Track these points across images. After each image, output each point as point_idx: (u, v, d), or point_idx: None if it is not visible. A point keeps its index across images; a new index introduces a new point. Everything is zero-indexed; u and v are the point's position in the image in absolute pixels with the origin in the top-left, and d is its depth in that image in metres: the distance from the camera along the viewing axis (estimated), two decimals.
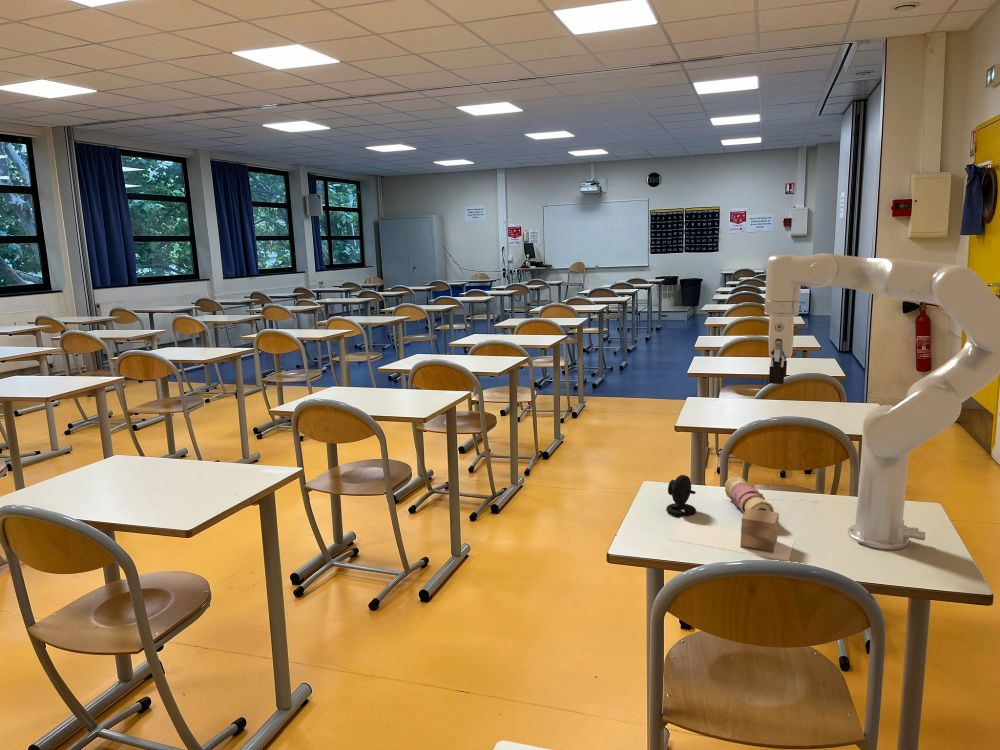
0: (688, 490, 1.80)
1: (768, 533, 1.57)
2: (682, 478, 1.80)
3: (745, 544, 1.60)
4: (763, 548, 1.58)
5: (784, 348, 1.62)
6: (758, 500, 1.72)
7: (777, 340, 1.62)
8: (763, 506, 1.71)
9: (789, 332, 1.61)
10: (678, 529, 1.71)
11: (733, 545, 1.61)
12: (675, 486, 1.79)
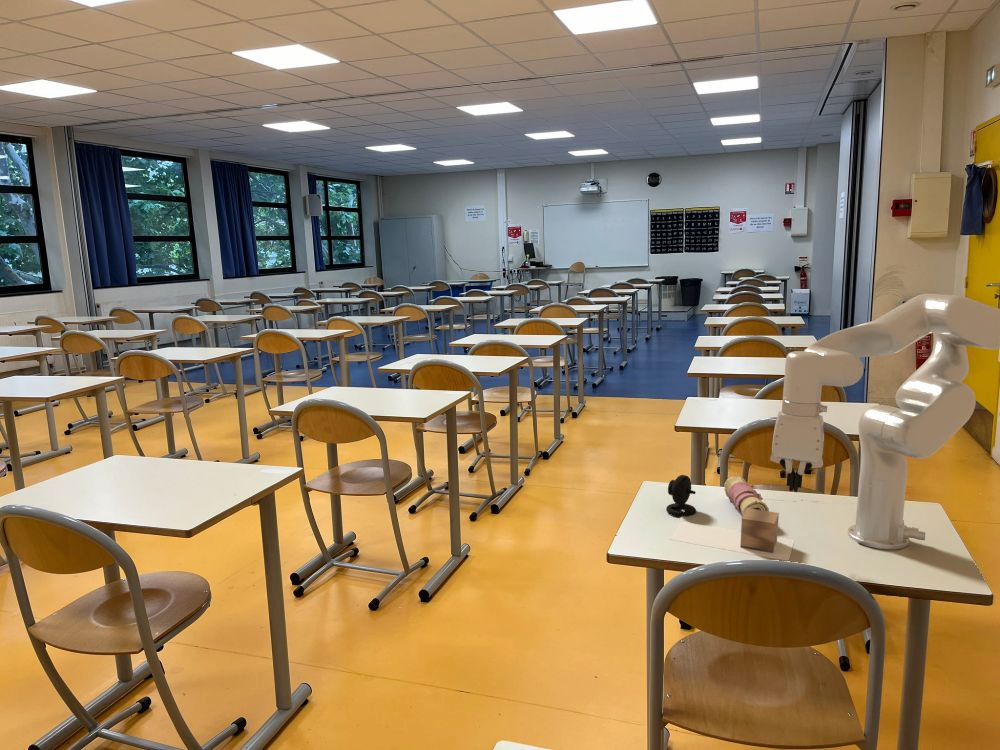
0: (688, 490, 1.80)
1: (768, 533, 1.57)
2: (682, 478, 1.80)
3: (745, 544, 1.60)
4: (763, 548, 1.58)
5: None
6: (753, 500, 1.72)
7: None
8: (758, 506, 1.71)
9: None
10: (678, 529, 1.71)
11: (733, 545, 1.61)
12: (675, 486, 1.79)
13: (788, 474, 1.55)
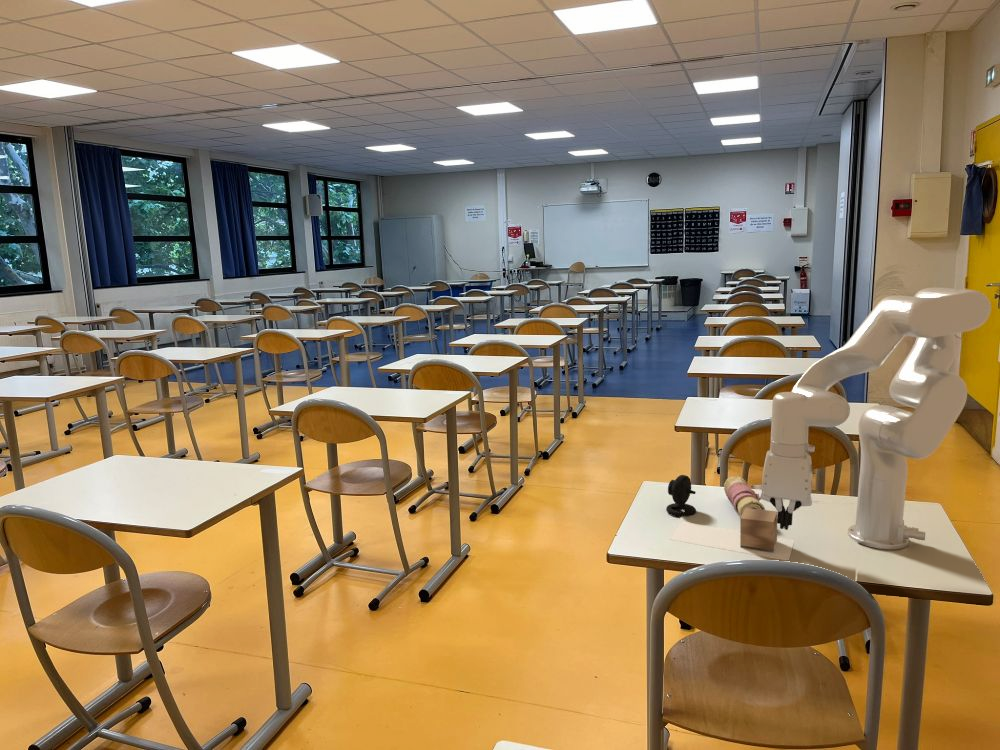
0: (688, 490, 1.80)
1: (767, 532, 1.57)
2: (682, 478, 1.80)
3: (745, 544, 1.60)
4: (763, 547, 1.58)
5: (811, 487, 1.55)
6: (749, 500, 1.72)
7: None
8: (754, 506, 1.71)
9: None
10: (678, 529, 1.71)
11: (733, 545, 1.61)
12: (675, 486, 1.79)
13: (778, 512, 1.58)
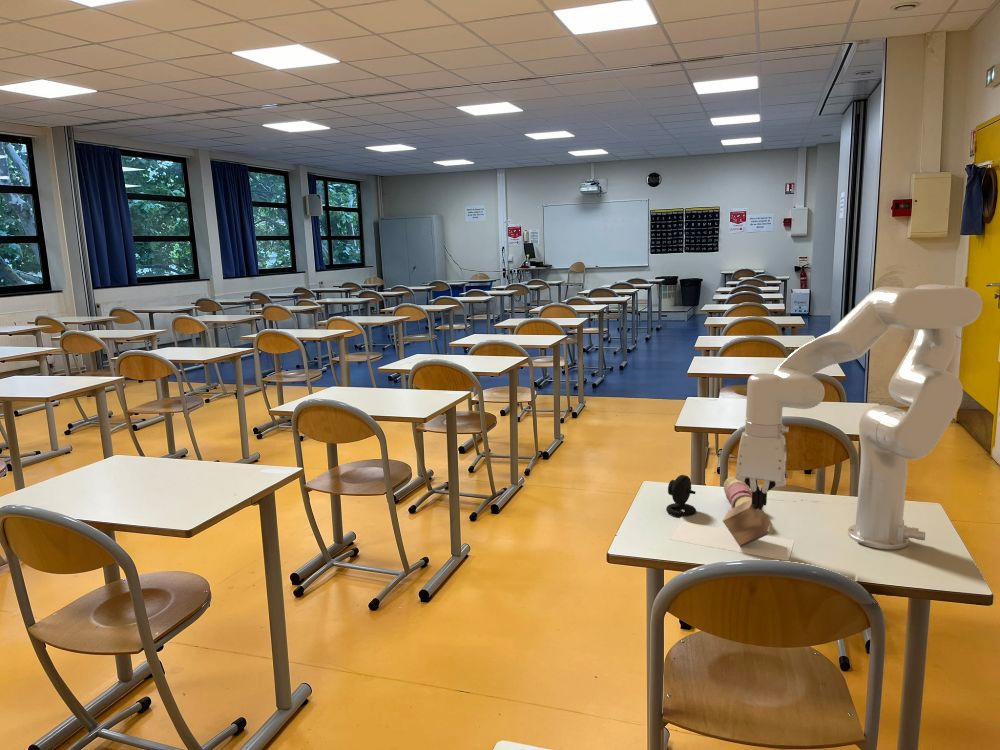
0: (688, 490, 1.80)
1: (751, 519, 1.58)
2: (682, 478, 1.80)
3: (742, 542, 1.60)
4: (757, 535, 1.58)
5: (785, 468, 1.57)
6: (746, 499, 1.73)
7: None
8: None
9: None
10: (678, 529, 1.71)
11: (733, 545, 1.61)
12: (675, 486, 1.79)
13: (753, 492, 1.59)
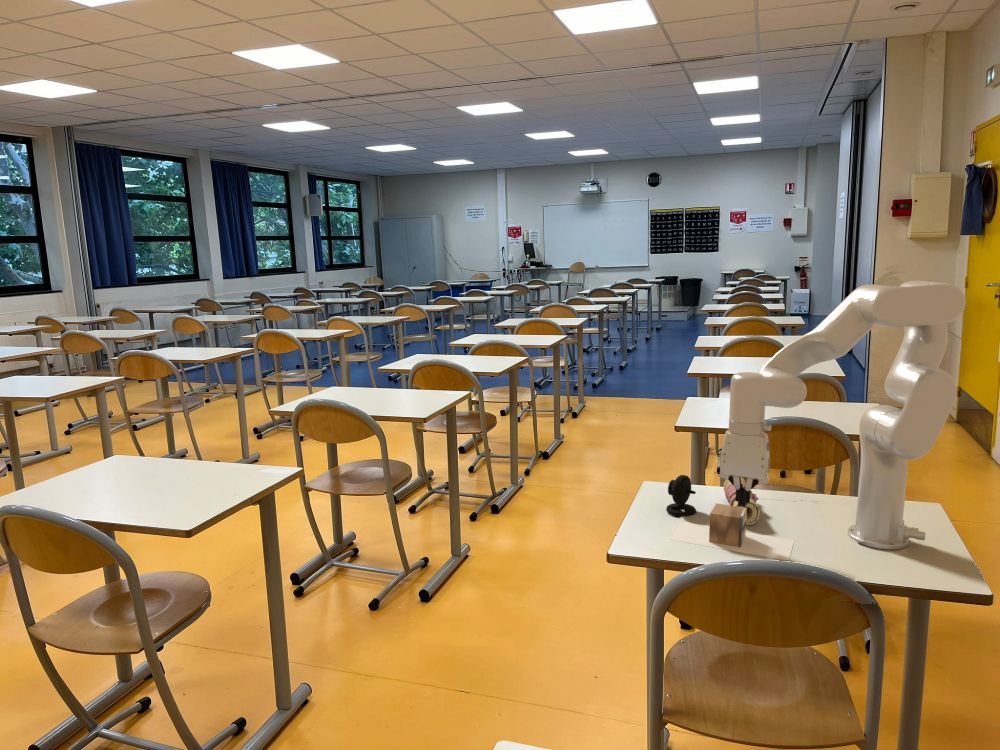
0: (688, 490, 1.80)
1: (721, 520, 1.61)
2: (682, 478, 1.80)
3: (736, 542, 1.60)
4: (738, 526, 1.60)
5: None
6: None
7: None
8: (748, 505, 1.71)
9: None
10: (678, 529, 1.71)
11: None
12: (675, 486, 1.79)
13: (736, 490, 1.61)
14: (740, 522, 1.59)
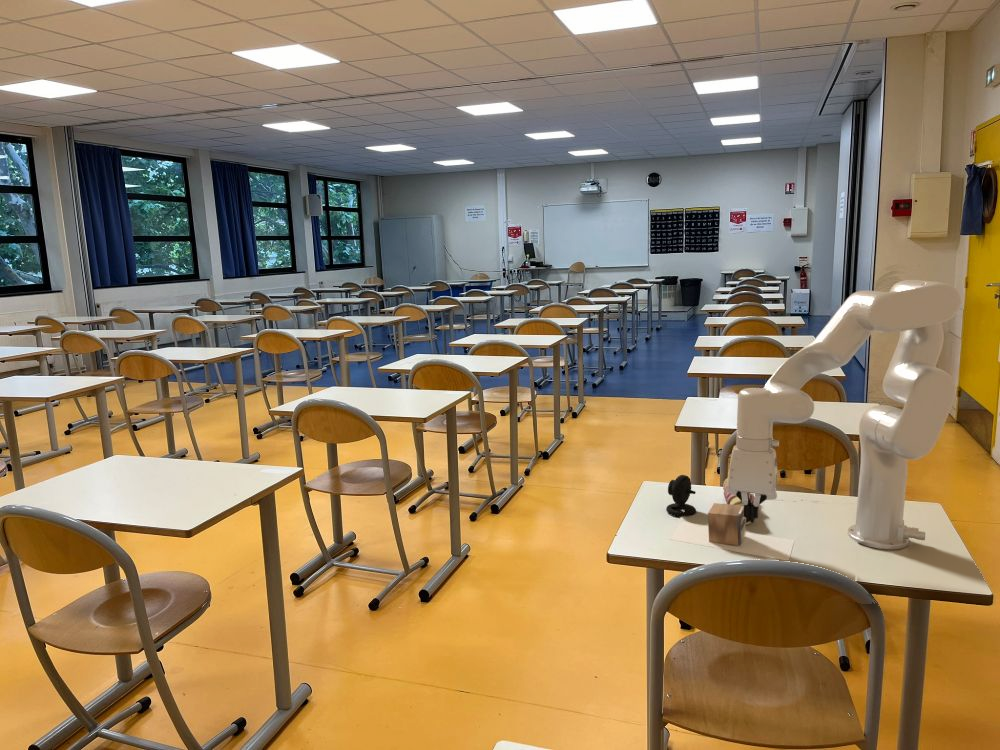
0: (688, 490, 1.80)
1: (719, 519, 1.61)
2: (682, 478, 1.80)
3: (736, 540, 1.60)
4: (736, 524, 1.60)
5: (776, 481, 1.59)
6: None
7: None
8: None
9: None
10: (678, 529, 1.71)
11: (733, 545, 1.61)
12: (675, 486, 1.79)
13: (744, 506, 1.61)
14: (738, 520, 1.59)
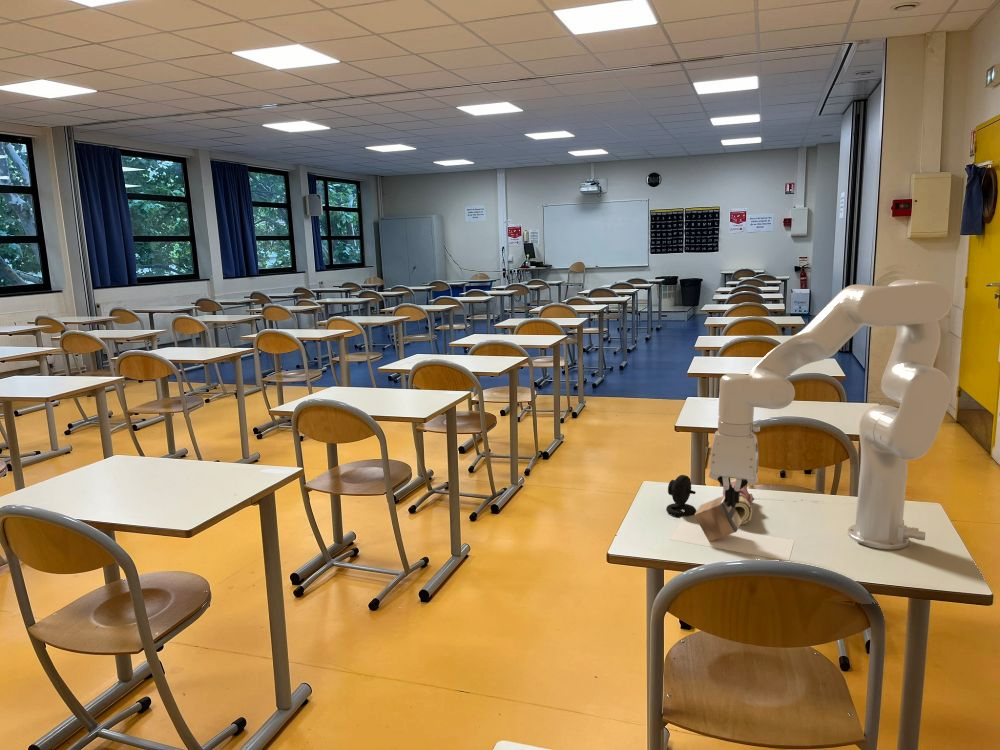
0: (688, 490, 1.80)
1: (706, 515, 1.63)
2: (682, 478, 1.80)
3: (730, 528, 1.61)
4: (723, 513, 1.61)
5: (757, 466, 1.60)
6: None
7: None
8: (740, 505, 1.72)
9: None
10: (678, 529, 1.71)
11: (733, 545, 1.61)
12: (675, 486, 1.79)
13: (726, 491, 1.62)
14: (722, 508, 1.61)
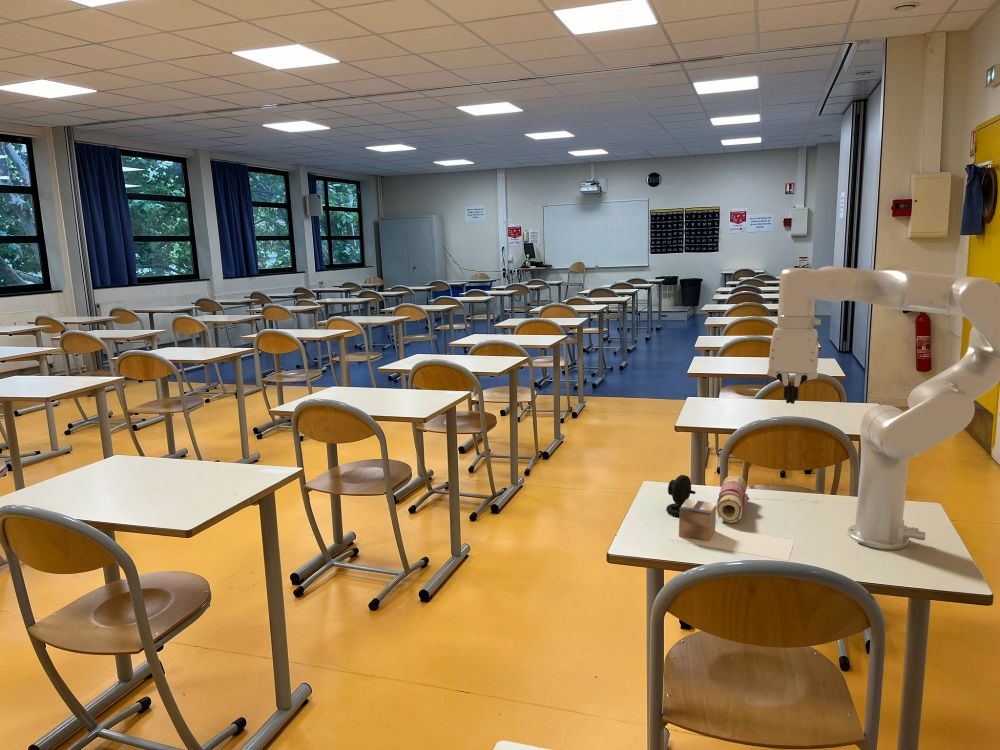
0: (688, 490, 1.80)
1: (684, 527, 1.66)
2: (682, 478, 1.80)
3: (705, 516, 1.63)
4: (688, 512, 1.65)
5: (817, 361, 1.60)
6: (727, 497, 1.74)
7: None
8: (730, 503, 1.73)
9: None
10: (678, 529, 1.71)
11: (733, 545, 1.61)
12: (675, 486, 1.79)
13: (785, 387, 1.62)
14: (684, 510, 1.65)
